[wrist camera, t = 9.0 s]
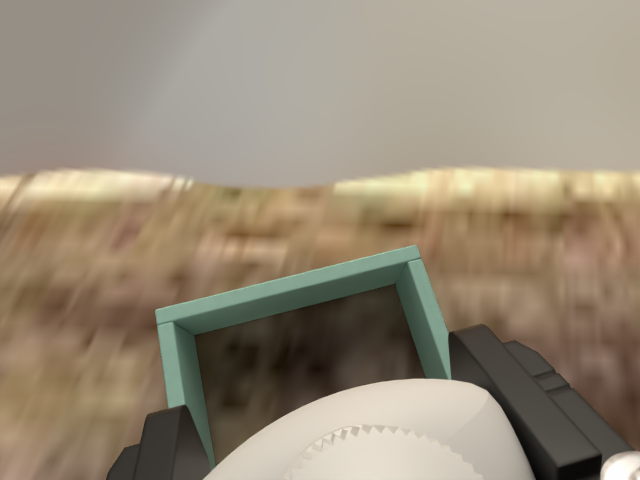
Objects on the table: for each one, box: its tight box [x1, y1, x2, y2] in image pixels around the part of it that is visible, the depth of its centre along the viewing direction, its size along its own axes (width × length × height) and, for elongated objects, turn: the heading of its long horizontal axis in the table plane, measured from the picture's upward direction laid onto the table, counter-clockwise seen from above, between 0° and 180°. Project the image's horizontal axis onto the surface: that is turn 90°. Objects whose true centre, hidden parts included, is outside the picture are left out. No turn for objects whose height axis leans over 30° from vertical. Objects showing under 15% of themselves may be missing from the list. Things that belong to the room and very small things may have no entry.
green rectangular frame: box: [155, 245, 451, 471], centre depth 17 cm, size 13×10×3 cm
